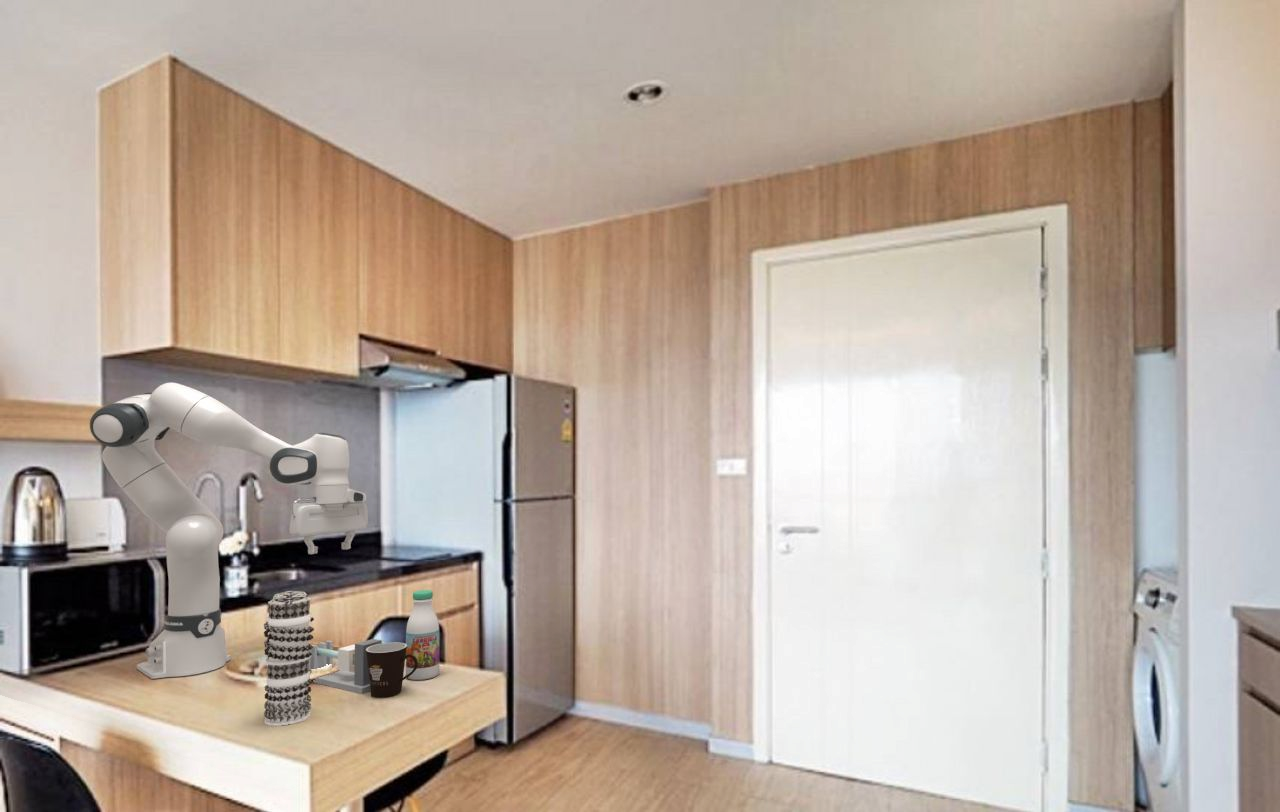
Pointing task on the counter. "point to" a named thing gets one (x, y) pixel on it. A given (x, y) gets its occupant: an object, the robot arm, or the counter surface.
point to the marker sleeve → (346, 658)
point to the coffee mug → (387, 668)
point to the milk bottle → (422, 637)
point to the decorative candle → (288, 659)
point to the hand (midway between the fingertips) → (329, 551)
